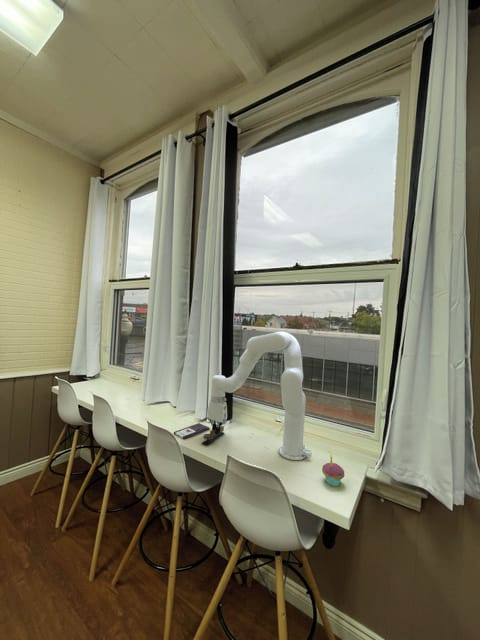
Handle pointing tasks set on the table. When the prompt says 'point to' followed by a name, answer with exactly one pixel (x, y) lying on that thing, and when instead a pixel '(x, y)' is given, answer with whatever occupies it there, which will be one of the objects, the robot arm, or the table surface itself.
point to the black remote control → (212, 439)
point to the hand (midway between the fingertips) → (215, 432)
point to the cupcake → (333, 473)
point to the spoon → (213, 433)
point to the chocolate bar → (191, 430)
